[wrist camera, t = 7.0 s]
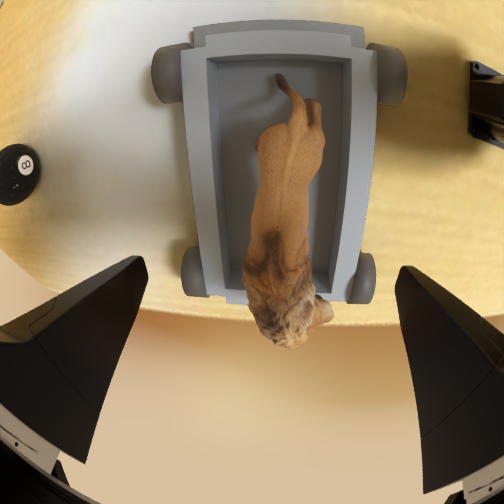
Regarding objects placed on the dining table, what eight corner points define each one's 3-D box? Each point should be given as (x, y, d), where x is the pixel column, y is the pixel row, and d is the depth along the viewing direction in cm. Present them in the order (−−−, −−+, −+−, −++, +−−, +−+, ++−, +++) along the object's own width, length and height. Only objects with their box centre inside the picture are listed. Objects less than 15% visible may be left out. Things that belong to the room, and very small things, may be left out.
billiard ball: (56, 181, 21) (14, 207, 16) (28, 196, 22) (-8, 221, 17) (39, 128, 18) (-6, 145, 13) (13, 149, 19) (-26, 168, 14)
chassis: (382, 34, 12) (404, 22, 9) (355, 295, 24) (362, 327, 20) (175, 33, 14) (150, 22, 10) (202, 289, 25) (190, 319, 22)
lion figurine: (323, 267, 21) (335, 360, 14) (258, 269, 22) (242, 360, 15) (317, 72, 14) (348, 48, 6) (233, 78, 15) (184, 63, 7)
